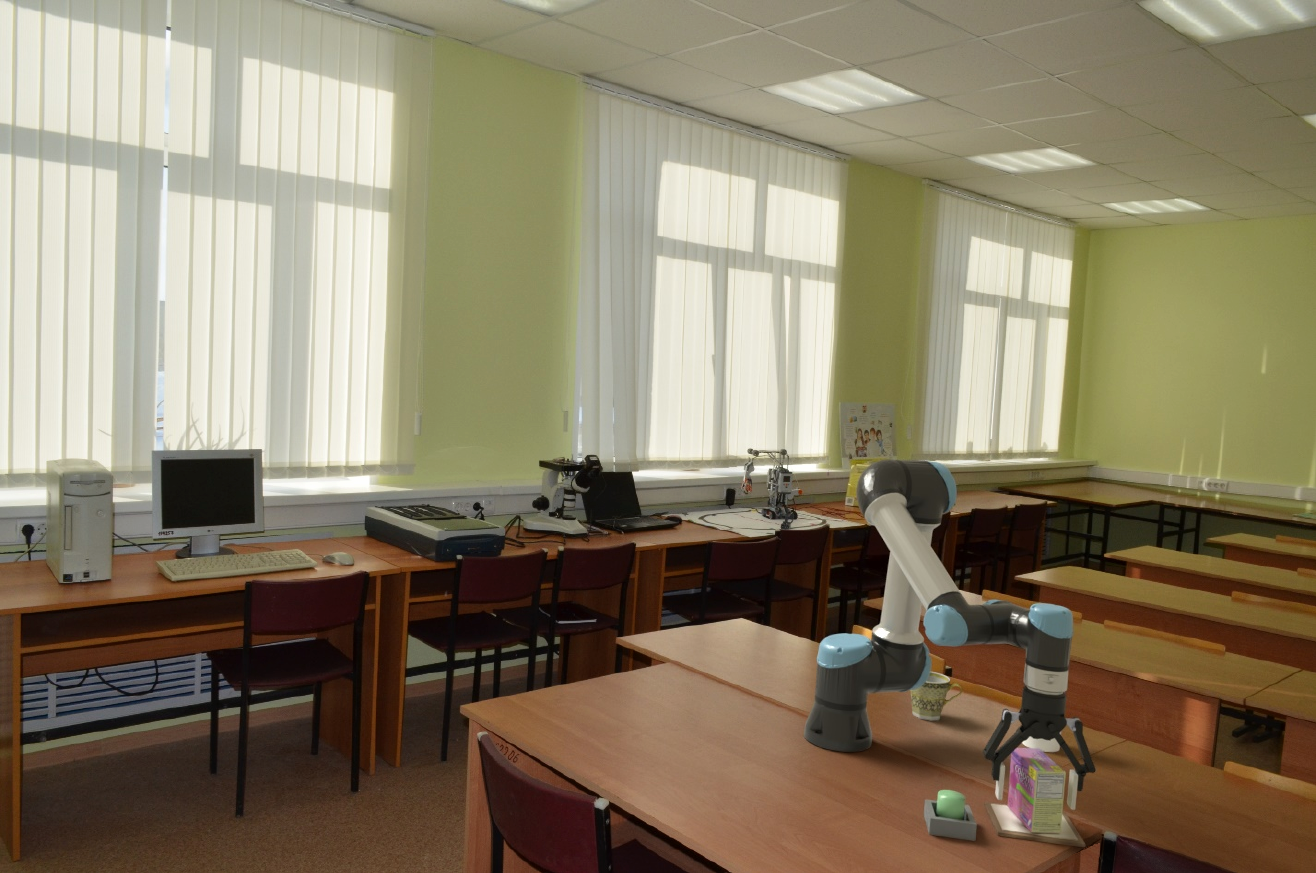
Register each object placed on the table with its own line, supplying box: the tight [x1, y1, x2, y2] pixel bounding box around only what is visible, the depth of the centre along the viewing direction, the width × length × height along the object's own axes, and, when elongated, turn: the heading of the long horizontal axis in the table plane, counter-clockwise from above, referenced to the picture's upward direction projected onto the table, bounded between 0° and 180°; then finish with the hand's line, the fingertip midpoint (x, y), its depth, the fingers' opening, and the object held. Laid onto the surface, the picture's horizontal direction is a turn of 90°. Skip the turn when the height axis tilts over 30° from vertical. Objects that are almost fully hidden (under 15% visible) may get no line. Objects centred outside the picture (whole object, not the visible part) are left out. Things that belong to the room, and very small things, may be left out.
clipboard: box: [984, 801, 1086, 848], centre depth 172 cm, size 15×13×1 cm
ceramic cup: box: [909, 670, 963, 721], centre depth 229 cm, size 13×10×10 cm
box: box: [1007, 747, 1067, 833], centre depth 172 cm, size 10×6×12 cm, turn 3°
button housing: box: [923, 799, 978, 842], centre depth 169 cm, size 8×8×3 cm
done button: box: [936, 789, 966, 820], centre depth 169 cm, size 5×5×4 cm
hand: (1034, 802), depth 172 cm, fingers open, 12 cm apart
